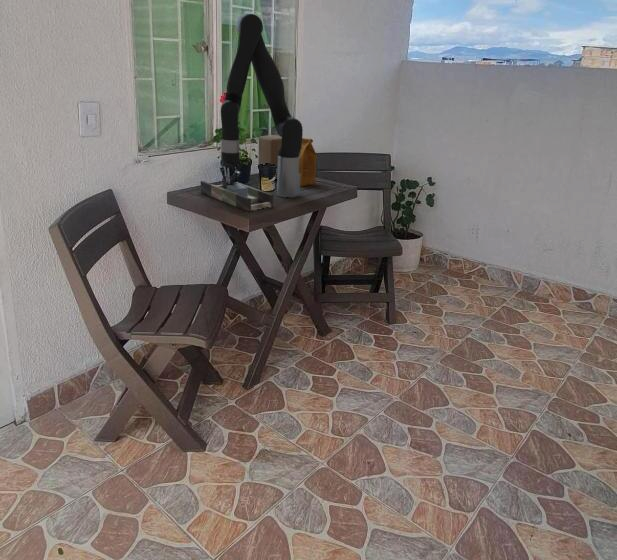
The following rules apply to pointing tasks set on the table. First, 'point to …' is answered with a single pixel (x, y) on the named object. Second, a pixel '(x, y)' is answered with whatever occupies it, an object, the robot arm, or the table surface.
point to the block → (269, 149)
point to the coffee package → (307, 163)
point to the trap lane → (238, 196)
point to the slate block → (238, 189)
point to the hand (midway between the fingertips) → (230, 191)
